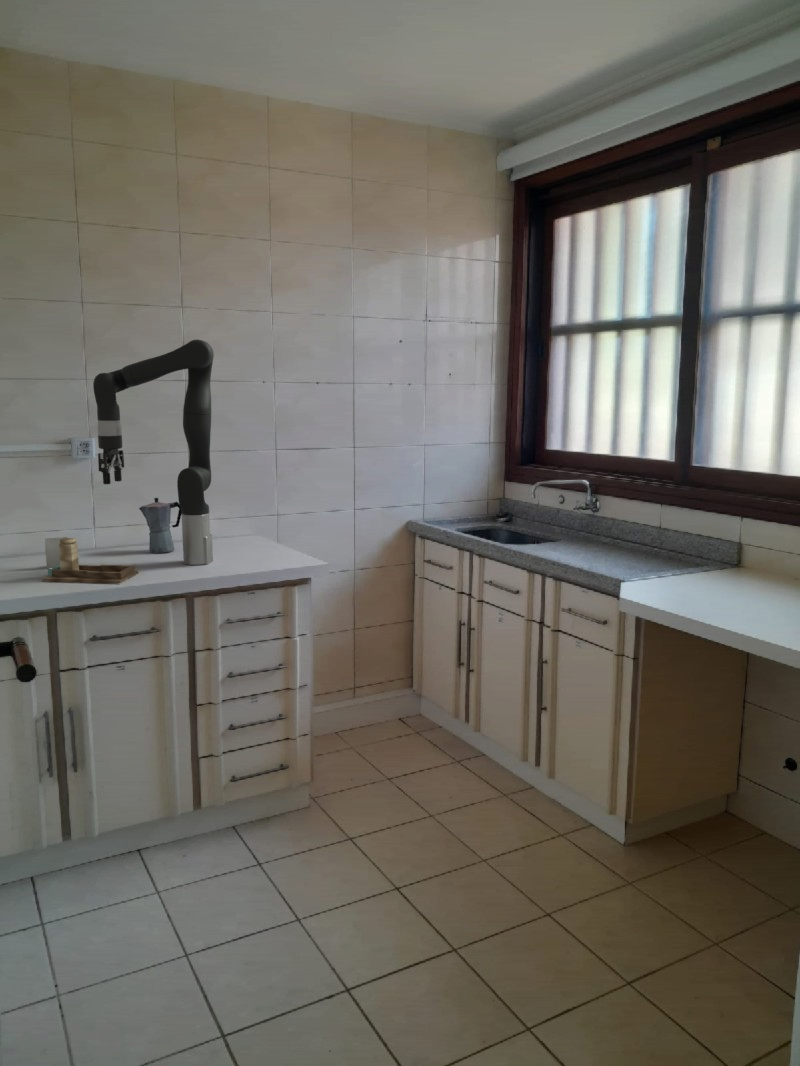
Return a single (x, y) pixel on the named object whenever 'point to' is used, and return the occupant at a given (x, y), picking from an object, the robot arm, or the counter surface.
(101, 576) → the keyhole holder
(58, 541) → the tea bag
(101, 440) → the robot arm
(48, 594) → the counter surface
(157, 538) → the moka pot
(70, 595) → the counter surface
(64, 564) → the maple peg
